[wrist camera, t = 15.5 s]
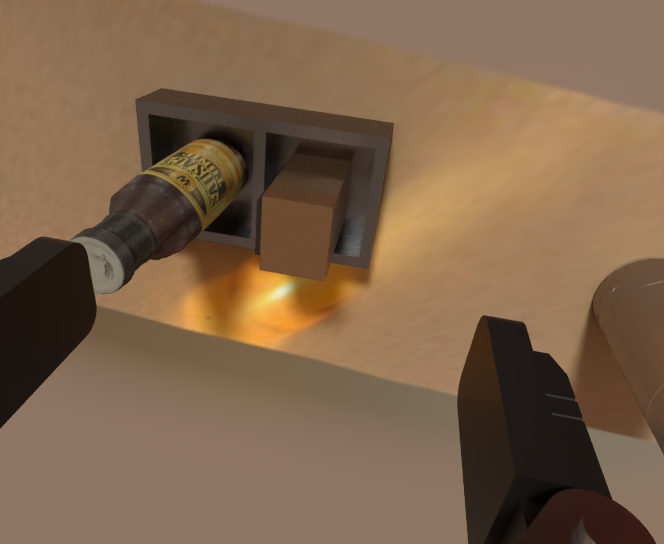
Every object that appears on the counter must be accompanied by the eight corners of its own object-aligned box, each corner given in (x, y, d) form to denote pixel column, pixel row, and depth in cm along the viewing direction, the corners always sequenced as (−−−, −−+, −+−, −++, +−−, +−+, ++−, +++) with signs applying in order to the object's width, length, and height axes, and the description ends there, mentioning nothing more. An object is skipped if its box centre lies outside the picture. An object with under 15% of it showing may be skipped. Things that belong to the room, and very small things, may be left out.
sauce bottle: (262, 163, 46) (169, 272, 29) (227, 209, 49) (125, 332, 32) (204, 116, 45) (71, 201, 28) (171, 166, 48) (33, 271, 31)
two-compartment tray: (393, 123, 43) (383, 172, 32) (372, 244, 50) (358, 320, 39) (161, 88, 45) (77, 124, 34) (169, 210, 51) (101, 273, 40)
